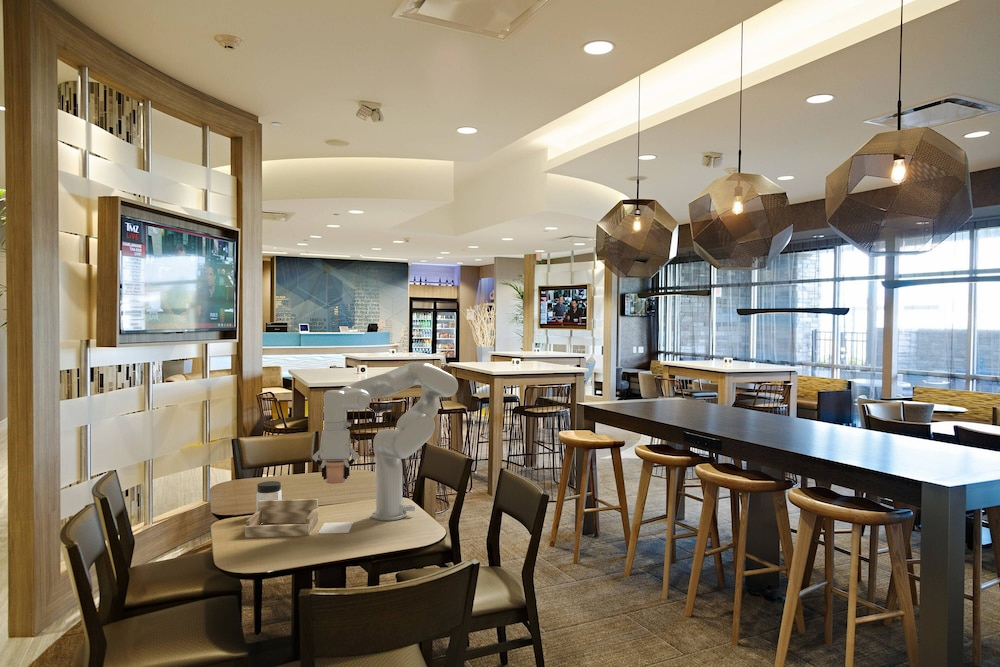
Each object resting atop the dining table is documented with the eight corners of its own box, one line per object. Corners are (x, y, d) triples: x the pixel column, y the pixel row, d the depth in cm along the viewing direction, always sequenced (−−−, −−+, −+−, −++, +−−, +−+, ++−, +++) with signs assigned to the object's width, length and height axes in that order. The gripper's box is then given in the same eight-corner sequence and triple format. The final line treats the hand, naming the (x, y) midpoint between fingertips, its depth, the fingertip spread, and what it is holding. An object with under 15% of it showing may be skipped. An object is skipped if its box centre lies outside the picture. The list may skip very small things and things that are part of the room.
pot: (347, 479, 228) (347, 458, 228) (344, 483, 221) (344, 462, 221) (326, 479, 228) (326, 459, 228) (323, 484, 220) (322, 463, 220)
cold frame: (318, 521, 233) (317, 498, 233) (308, 535, 217) (308, 511, 217) (259, 523, 231) (259, 500, 231) (245, 537, 215) (244, 513, 215)
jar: (259, 520, 234) (259, 487, 234) (253, 515, 241) (253, 483, 241) (284, 516, 239) (284, 483, 239) (278, 511, 246) (278, 479, 246)
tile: (353, 522, 231) (353, 521, 231) (348, 533, 219) (348, 532, 219) (324, 523, 230) (324, 522, 230) (317, 534, 218) (317, 533, 218)
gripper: (362, 424, 229) (362, 475, 229) (311, 425, 227) (312, 476, 227) (359, 427, 221) (359, 480, 221) (307, 428, 220) (307, 481, 220)
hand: (335, 478), depth 224 cm, fingers closed on pot, 6 cm apart
